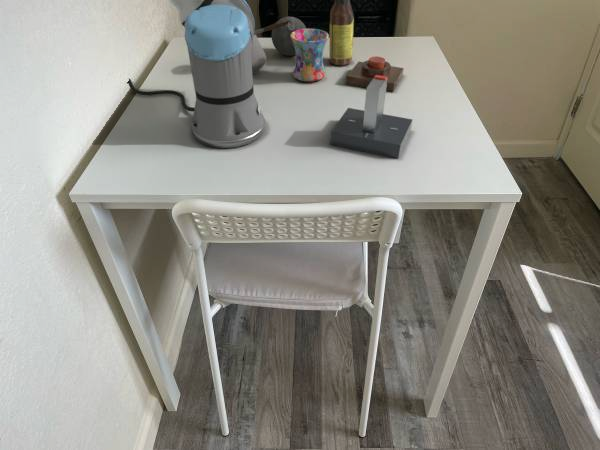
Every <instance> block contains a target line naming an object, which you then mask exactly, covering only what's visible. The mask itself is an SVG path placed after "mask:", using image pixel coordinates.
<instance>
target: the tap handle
mask: <svg viewBox="0 0 600 450" xmlns="http://www.w3.org/2000/svg"><path fill="white" fill-rule="evenodd" d="M387 79H388V78H387V77H386V76H380V75H375V77H374V78H373V80H372V81H371V82H370V84H369V85H368V87H367V88H366V89H365V102H364V110H363V111H364V121H363V131H367V132H372V133H375V131H376V130H377V128H378V126H379V125H380V123H381V121H382V119H383V114H384V110H385V103H386V102H385V101H386V93H387V91H386V87H387Z"/></svg>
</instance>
